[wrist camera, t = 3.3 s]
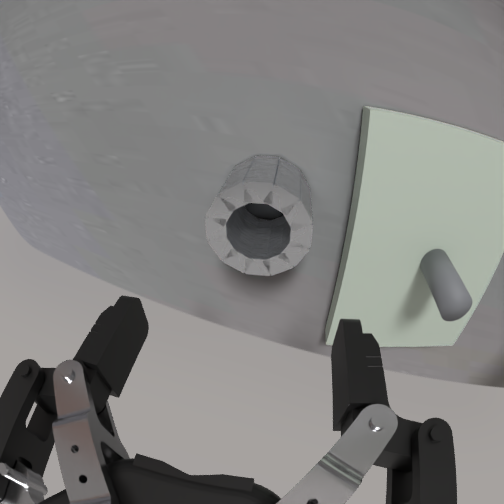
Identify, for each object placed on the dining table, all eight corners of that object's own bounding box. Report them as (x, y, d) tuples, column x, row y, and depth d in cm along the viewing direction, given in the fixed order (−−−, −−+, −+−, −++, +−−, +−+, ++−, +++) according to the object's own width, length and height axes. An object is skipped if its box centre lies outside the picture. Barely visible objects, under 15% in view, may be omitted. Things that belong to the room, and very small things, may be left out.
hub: (223, 154, 19) (201, 180, 15) (313, 159, 19) (317, 186, 15) (226, 230, 23) (210, 270, 19) (305, 236, 22) (306, 279, 18)
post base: (363, 105, 16) (397, 124, 10) (519, 148, 14) (575, 184, 9) (325, 328, 27) (326, 391, 22) (447, 331, 26) (465, 384, 20)
